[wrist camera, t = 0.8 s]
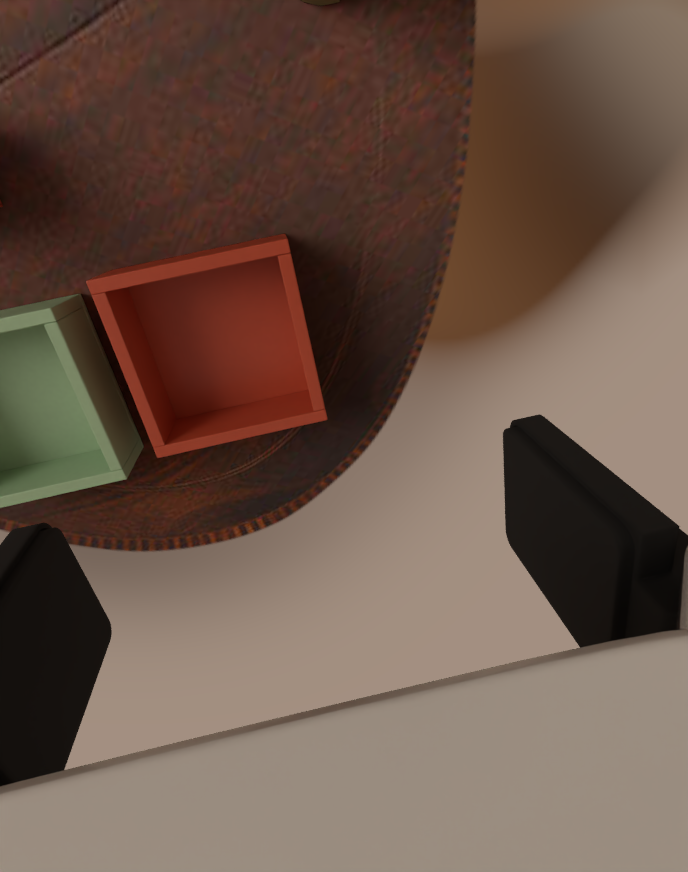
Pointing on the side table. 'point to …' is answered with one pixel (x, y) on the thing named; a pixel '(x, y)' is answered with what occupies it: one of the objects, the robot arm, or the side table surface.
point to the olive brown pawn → (320, 2)
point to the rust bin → (213, 344)
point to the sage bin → (59, 405)
